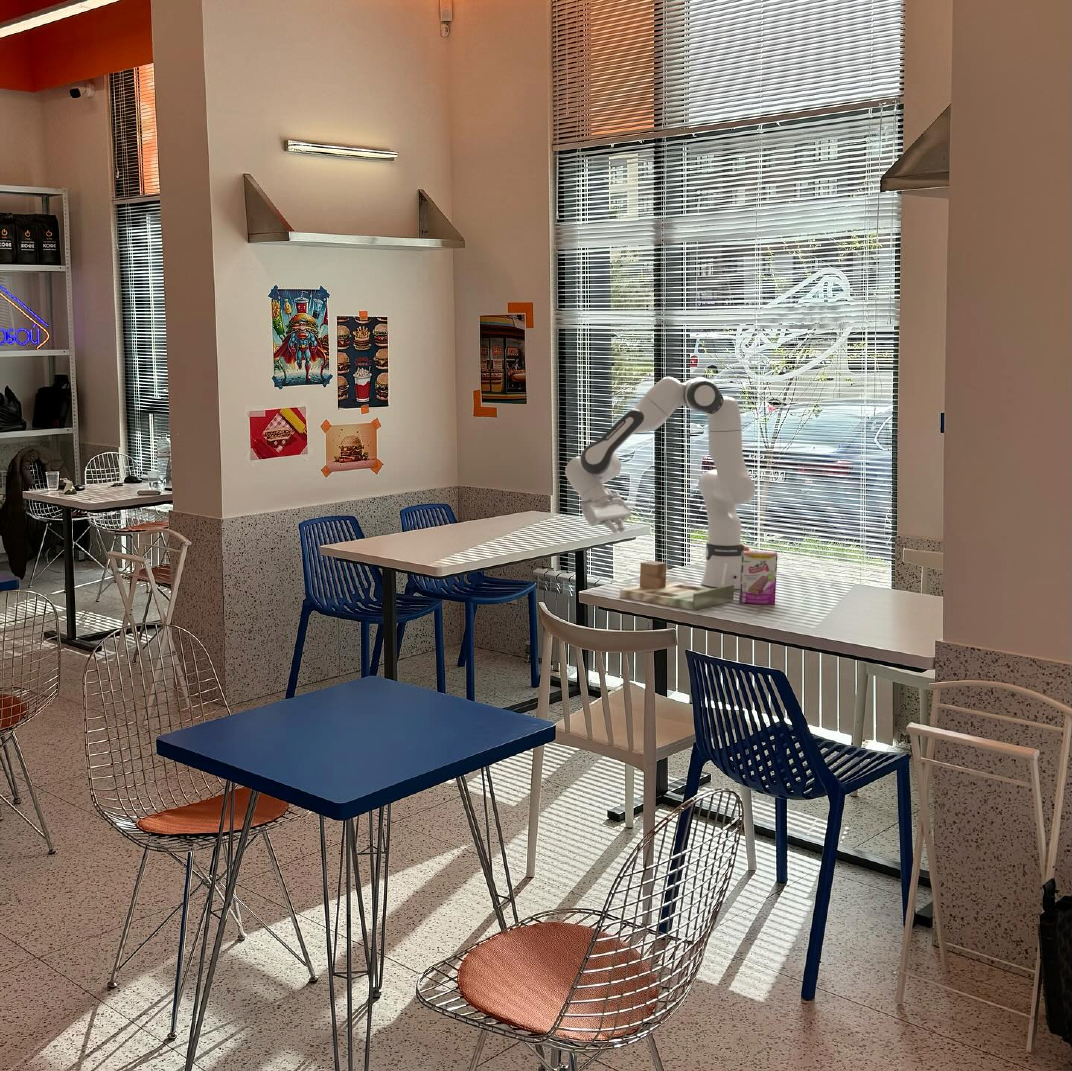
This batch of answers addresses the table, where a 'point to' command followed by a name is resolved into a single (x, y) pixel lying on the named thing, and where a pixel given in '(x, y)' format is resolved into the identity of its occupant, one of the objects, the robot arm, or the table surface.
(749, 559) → the candy bar box
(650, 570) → the walnut block
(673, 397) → the robot arm
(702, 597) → the trap deck
